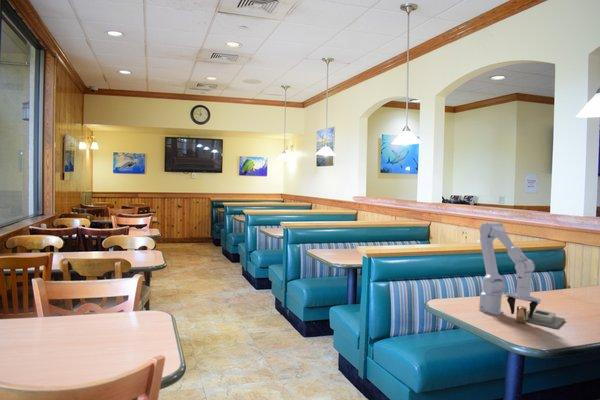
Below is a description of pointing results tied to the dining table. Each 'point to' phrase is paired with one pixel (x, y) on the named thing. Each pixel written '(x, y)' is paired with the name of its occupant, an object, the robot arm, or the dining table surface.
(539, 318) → the flange socket
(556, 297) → the dining table surface
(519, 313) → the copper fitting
